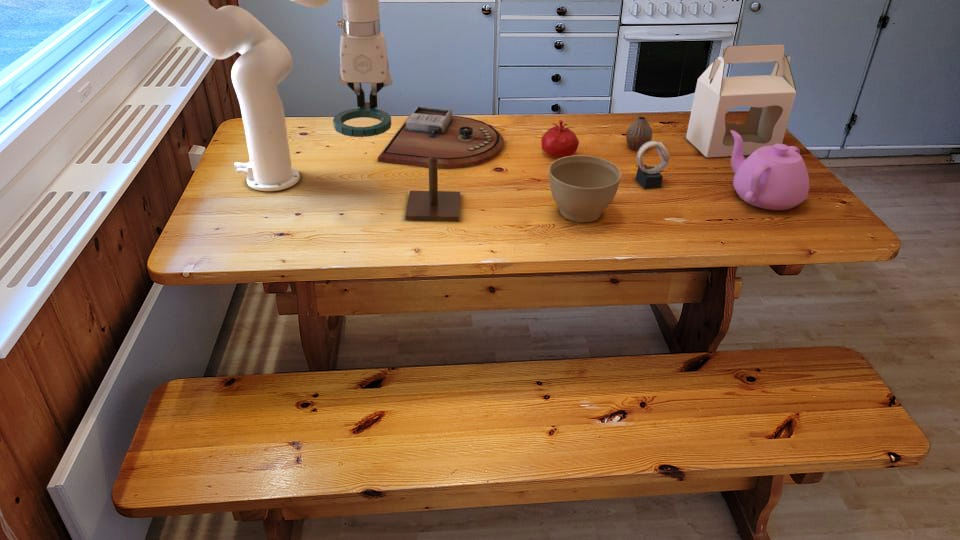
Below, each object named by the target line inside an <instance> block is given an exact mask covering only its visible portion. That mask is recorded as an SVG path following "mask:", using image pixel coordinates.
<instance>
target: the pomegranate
mask: <svg viewBox="0 0 960 540" xmlns="http://www.w3.org/2000/svg"><path fill="white" fill-rule="evenodd" d="M558 123H559V125H558V124H557V123H551V124H552V125H553V127H550V128H548V129H546V130H547V131H546V132H544V133H543V135H542V136H541V139H540V141H541V149H542V152H543V153H544V154H546V155H548V156H550V157H553V158H556V159H559V158H562V157H566V156H573V155H574V154H575V153H576V152H577V151H578V148H579V145H580V141H579V138H578V137H577V135H576V133H575V132H574V131H573V130H572V129H575V127H574V126H568V124H567V123H564V121H563V120H561V119H560V120H559V121H558ZM565 126H566V127H565ZM567 126H568V127H567ZM571 128H572V129H571Z"/></svg>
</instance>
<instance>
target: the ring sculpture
mask: <svg viewBox="0 0 960 540" xmlns="http://www.w3.org/2000/svg"><path fill="white" fill-rule="evenodd" d="M652 147H655V150H656V153H657V154H658V155H659V157H660V159H661V161H660V162H659V163H658V164H657V165H656V166H645V165H644V160H643V155H644V153H645V152H646V151H647V150H649V149H650V148H652ZM670 159H671V156H670V153H669V150H668V149H667V148H666V146H665V145H664V143H663V142H661V141H659V142H658V141H657V140H651V141H649V142H647V143H645V144H643V145H642V146H641V147H640V149H639V150H638V151H637V153H636V163H637V165H638V167H637V170H636V175H635V180H636V181H637V183H639V185H640V186H641V187H642V188H643V189H644V190H649V189H650V190H651V189H660V188H661V187H662V184H663V179H664V176H663V175H662V174H661V172H662V171H663V170H664V169H665V168H666V167H667V166H668V165H669V160H670Z"/></svg>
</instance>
